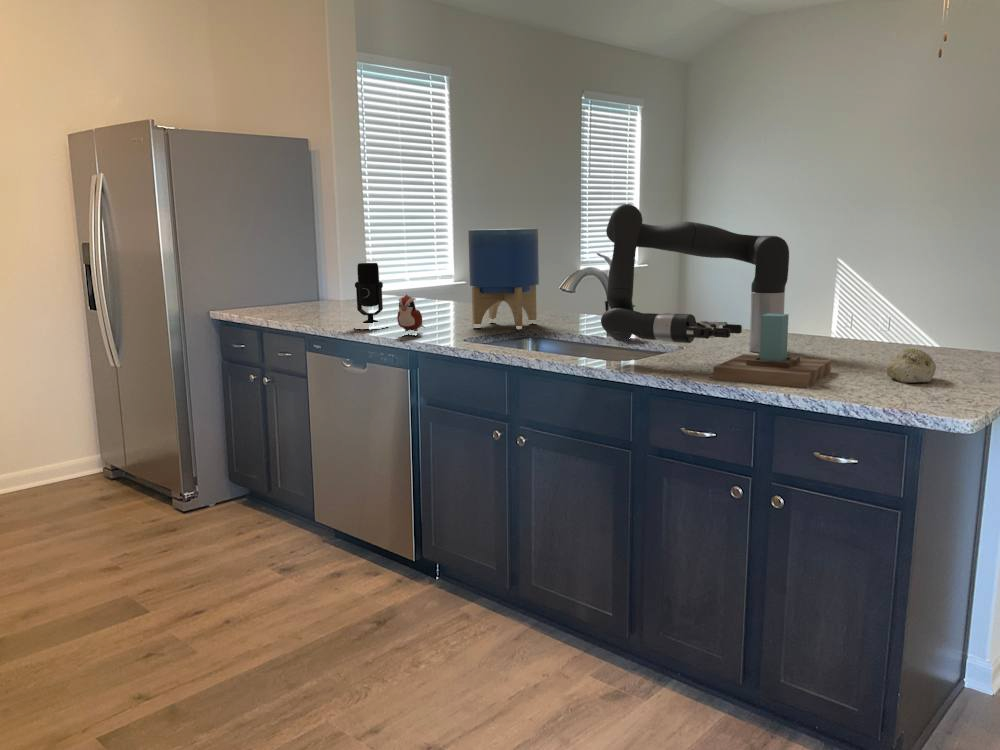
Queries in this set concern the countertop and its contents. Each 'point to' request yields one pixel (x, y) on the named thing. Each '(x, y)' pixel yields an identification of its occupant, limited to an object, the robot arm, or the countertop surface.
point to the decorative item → (911, 366)
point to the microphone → (369, 289)
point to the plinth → (773, 370)
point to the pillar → (774, 337)
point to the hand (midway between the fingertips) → (735, 331)
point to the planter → (503, 271)
